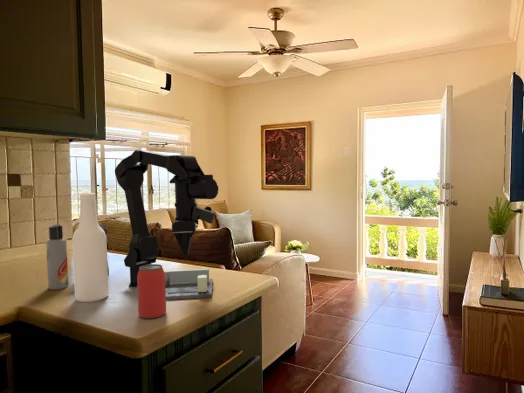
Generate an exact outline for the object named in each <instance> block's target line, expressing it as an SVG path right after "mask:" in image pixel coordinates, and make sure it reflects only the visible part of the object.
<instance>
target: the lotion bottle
mask: <svg viewBox="0 0 524 393" xmlns="http://www.w3.org/2000/svg"><path fill="white" fill-rule="evenodd" d="M63 231H64V230H63V225H61V223H60V224H59V223H58V224H57V223H56V224H53V225H49V226H48V240H46V241H45V248H46V268H47V269H46V270H47V283H48V284H47V285H48V289H50V290H60V289H65V288H68V286H69V270H68V269H69V268H68V267H69V266H68V265H69V264H68V250H67V249H68V247H67V239H66V238H64V233H63Z"/></svg>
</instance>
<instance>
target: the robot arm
mask: <svg viewBox="0 0 524 393" xmlns="http://www.w3.org/2000/svg"><path fill="white" fill-rule="evenodd" d="M149 165H152V166H155V167H158V168H164V169H166V171H167V172H168V173H170V174H172V175H174V176H173V177H172V178H171V179H170V180H169V184H174V196H175V199H174V200H175V202H174V207H175V217H174V222H173V223H172V224H171V232H172V234H173V235H174V238H175V239H176V242H177V244H178V245H179V247H180V250H181V252H182V254H183V256H189V253H190V252H189V251H190V250H191V247H192V240H193V236H194V235H195V233H196V232H197V229H198V227H199V220H200V221H203V222H207V224H210V225H212V224H213V223H214V220H215V216H216V215H217V214H216V212H215V211H213V210H212V206H208V205H206V206H205V207H204V208H203V207H200V206H198V202H197V201H196V200H213V199H215V198H217V196H218V194H219V185H218V183H217V181H216V179H214V175H213V174H205V173H204V171H203V170H202V168H201V166H200V165H199V163H198V160H197V157H195V156H193V155H182V154H181V155H179V154H175V155H171V154H164V153H159V152H155V151H151V150H149V149H135V150H133V152H132V153H131V154H130V155H128V156H127V157H125V158H123V159H121V160H120V162H119V163H118V164H117V165H116V167H115V169H114V175H115V178H116V181H117V184H118V185H119V186H120V187H121V189H122V190H123V191H124V196H125V201H126V206H127V211H128V216H129V217H128V218H129V222H130V228H131V233H132V234H131V235H132V236H131V239H130V241H129V243H128V244H129V246H128V247H129V251H128V253H127V255H126V256H125V258H124V259H123V262H124V266H125V267H127V268H129V279H130V280H129V283H128V286H129V287H137V275H138V272H139V267H141V266H144V265H149V264H157V263H156V262H157V258H158V254H159V248H160V247H159V244H158V237H157V236H156V235H152V234H151V233H150V230H149V227H148V222H147V215H146V210H145V204H144V200H143V194H142V189H141V188H142V186H143V184H144V180H145V179H144V175H145V173H147V171H148V169H149Z"/></svg>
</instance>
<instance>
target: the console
mask: <svg viewBox="0 0 524 393" xmlns="http://www.w3.org/2000/svg"><path fill="white" fill-rule="evenodd" d="M213 283H214V282H213V279H212V278H209V281H207V292H198V282H188V283H170V284H165V291H166V301H174V300H175V301H177V300H178V301H179V300H192V299H193V300H194V299H209V298H212V294H213V285H214V284H213Z"/></svg>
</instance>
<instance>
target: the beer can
mask: <svg viewBox="0 0 524 393" xmlns="http://www.w3.org/2000/svg"><path fill="white" fill-rule="evenodd" d="M164 272H165V270H164V268H163V265H162V264H157V263H151V264H149V265H144V266H141V267H139V272H138V275H137V286H136V288H137V305H138V306H137V308H138V316H139V317H141V318H142V319H147V320H148V319H157V318H159V317H163V316H164V315H165V314H166V312H167V300H166V291H165V273H164Z"/></svg>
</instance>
